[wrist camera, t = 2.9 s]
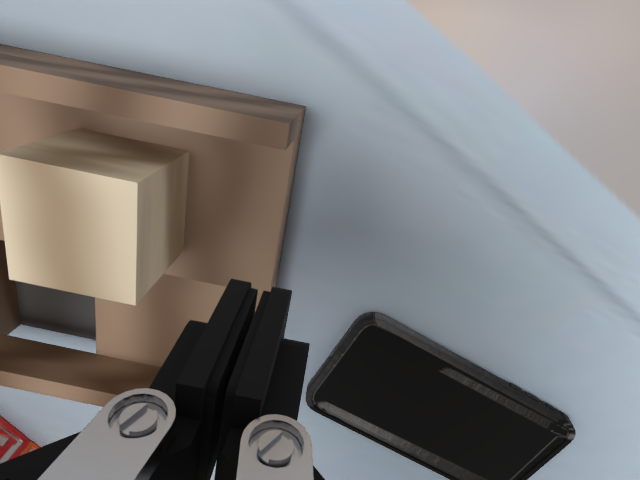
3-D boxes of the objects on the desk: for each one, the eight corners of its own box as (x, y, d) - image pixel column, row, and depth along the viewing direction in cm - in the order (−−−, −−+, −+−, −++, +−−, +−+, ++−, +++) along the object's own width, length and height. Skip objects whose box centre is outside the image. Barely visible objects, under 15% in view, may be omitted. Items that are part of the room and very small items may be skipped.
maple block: (189, 151, 20) (137, 182, 15) (183, 251, 22) (135, 305, 17) (79, 128, 20) (-6, 153, 15) (83, 230, 22) (9, 279, 17)
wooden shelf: (305, 106, 21) (289, 124, 16) (261, 370, 28) (241, 435, 23) (-233, -4, 21) (-396, -17, 17) (-150, 285, 28) (-251, 332, 23)
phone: (498, 503, 29) (298, 403, 27) (493, 488, 30) (301, 390, 28) (585, 429, 26) (367, 311, 24) (577, 415, 27) (367, 300, 25)
